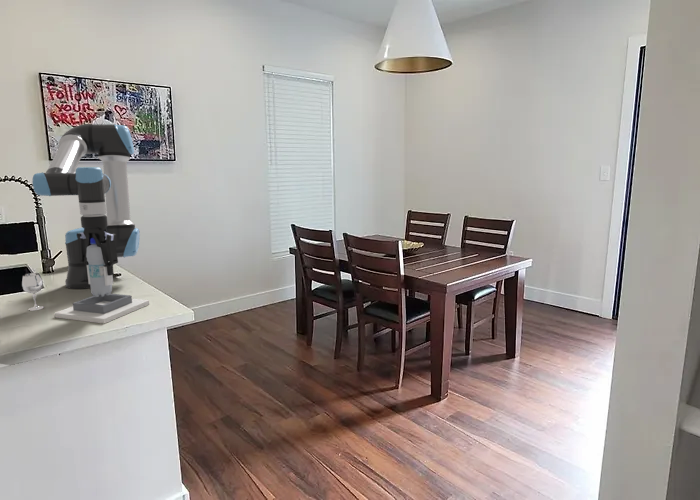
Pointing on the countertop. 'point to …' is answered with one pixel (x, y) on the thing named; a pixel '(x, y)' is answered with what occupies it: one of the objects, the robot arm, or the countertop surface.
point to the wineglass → (32, 287)
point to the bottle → (97, 270)
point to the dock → (102, 308)
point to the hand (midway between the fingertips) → (101, 283)
